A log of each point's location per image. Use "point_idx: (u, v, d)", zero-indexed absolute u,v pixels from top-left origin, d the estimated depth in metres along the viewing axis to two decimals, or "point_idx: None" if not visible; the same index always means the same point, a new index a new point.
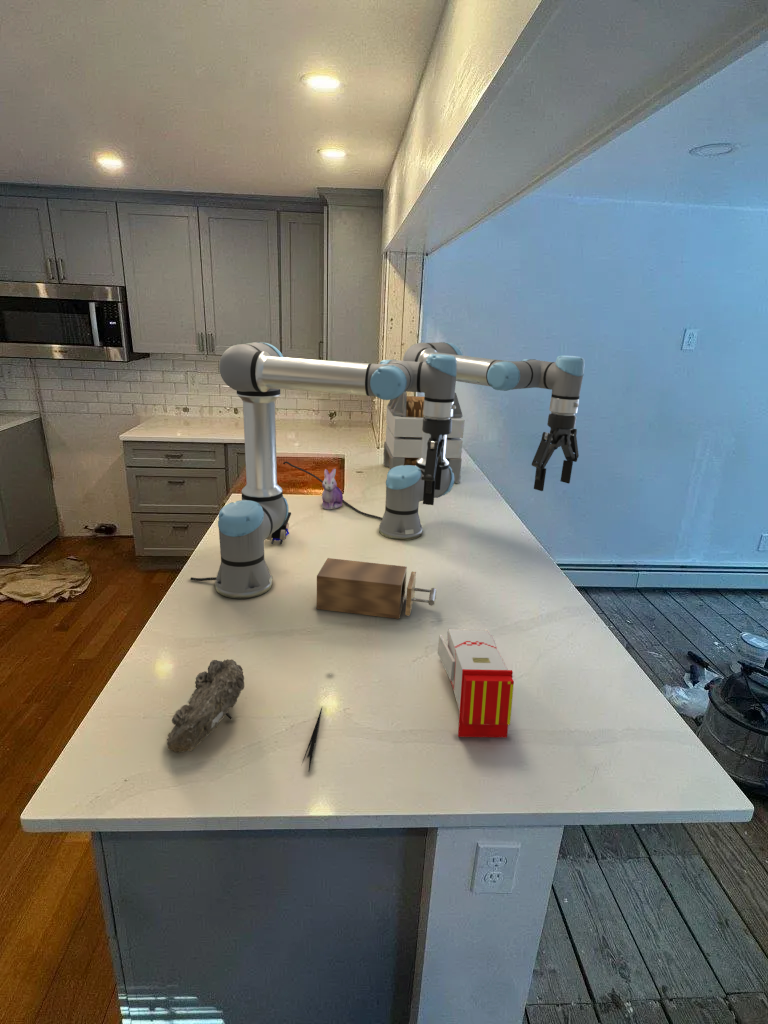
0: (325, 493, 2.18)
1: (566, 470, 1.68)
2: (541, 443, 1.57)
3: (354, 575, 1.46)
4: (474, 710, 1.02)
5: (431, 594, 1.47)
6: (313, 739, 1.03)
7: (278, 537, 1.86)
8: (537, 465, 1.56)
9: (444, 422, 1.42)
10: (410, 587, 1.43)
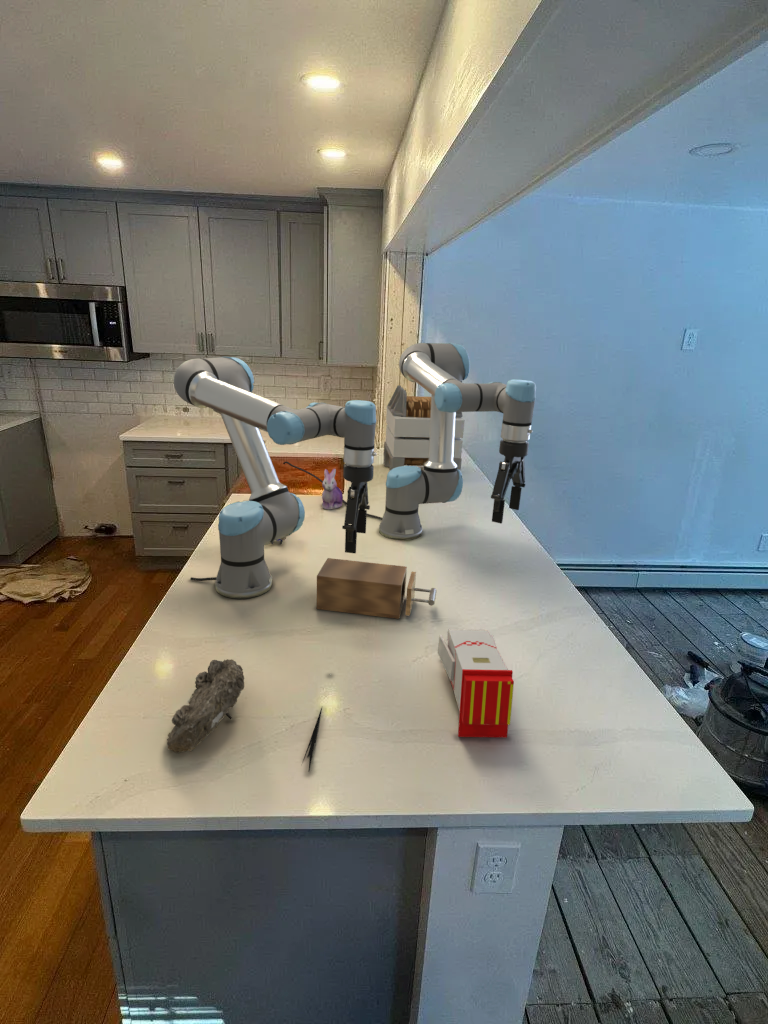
0: (325, 493, 2.18)
1: (515, 496, 1.61)
2: (499, 474, 1.47)
3: (354, 575, 1.46)
4: (474, 710, 1.02)
5: (431, 594, 1.47)
6: (313, 739, 1.03)
7: None
8: (498, 498, 1.46)
9: (365, 469, 1.39)
10: (410, 587, 1.43)
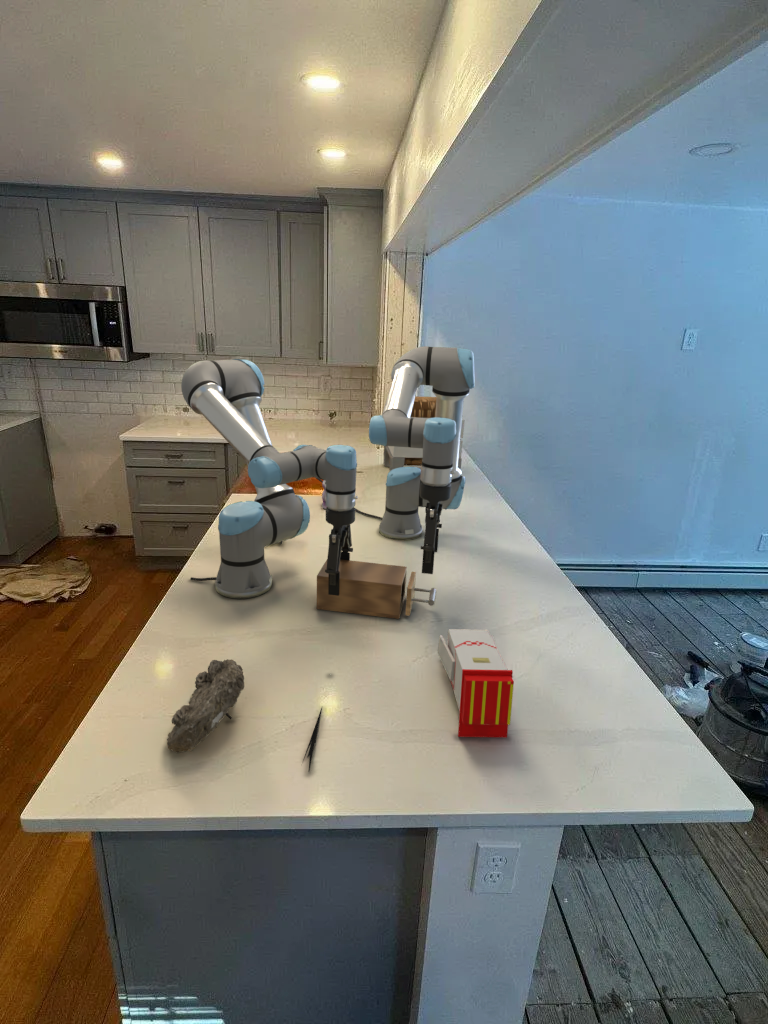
0: (325, 493, 2.18)
1: None
2: (427, 522, 1.34)
3: (354, 575, 1.46)
4: (474, 710, 1.02)
5: (431, 594, 1.47)
6: (313, 739, 1.03)
7: None
8: (431, 549, 1.33)
9: (346, 513, 1.41)
10: (410, 587, 1.43)
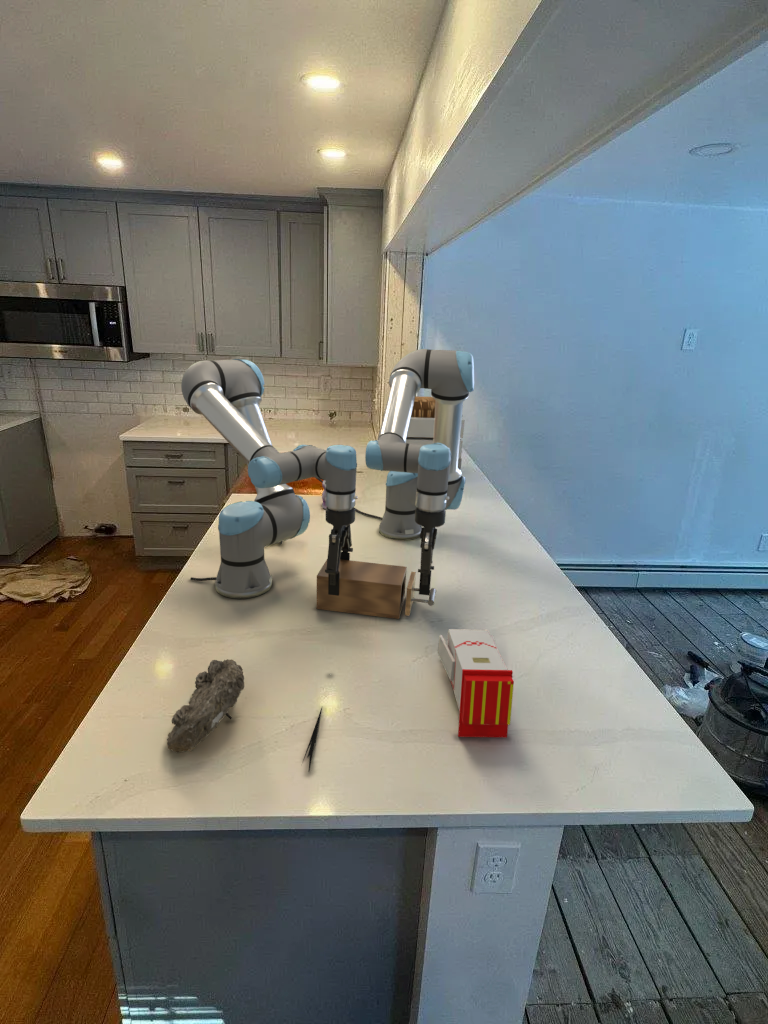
0: (325, 493, 2.18)
1: None
2: (423, 553, 1.39)
3: (354, 575, 1.46)
4: (474, 710, 1.02)
5: (431, 594, 1.47)
6: (313, 739, 1.03)
7: None
8: (427, 572, 1.42)
9: (346, 513, 1.41)
10: (410, 587, 1.43)
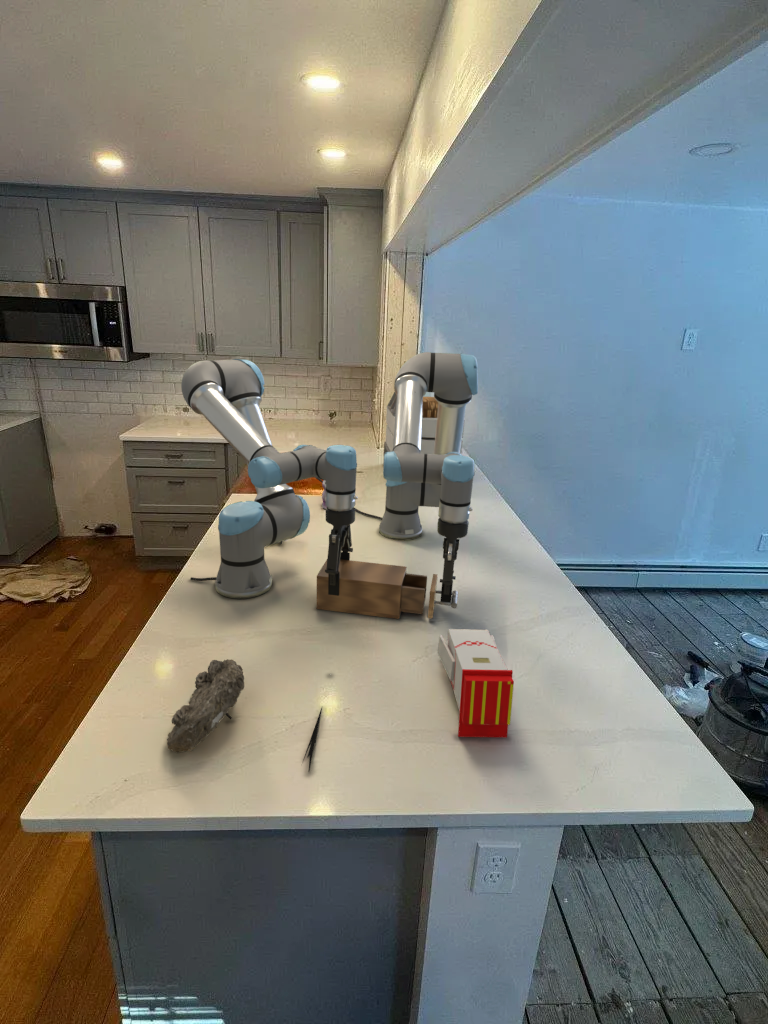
0: (325, 493, 2.18)
1: None
2: (445, 564, 1.39)
3: (354, 575, 1.46)
4: (474, 710, 1.02)
5: (453, 597, 1.46)
6: (313, 739, 1.03)
7: None
8: (450, 583, 1.42)
9: (346, 513, 1.41)
10: (433, 590, 1.42)
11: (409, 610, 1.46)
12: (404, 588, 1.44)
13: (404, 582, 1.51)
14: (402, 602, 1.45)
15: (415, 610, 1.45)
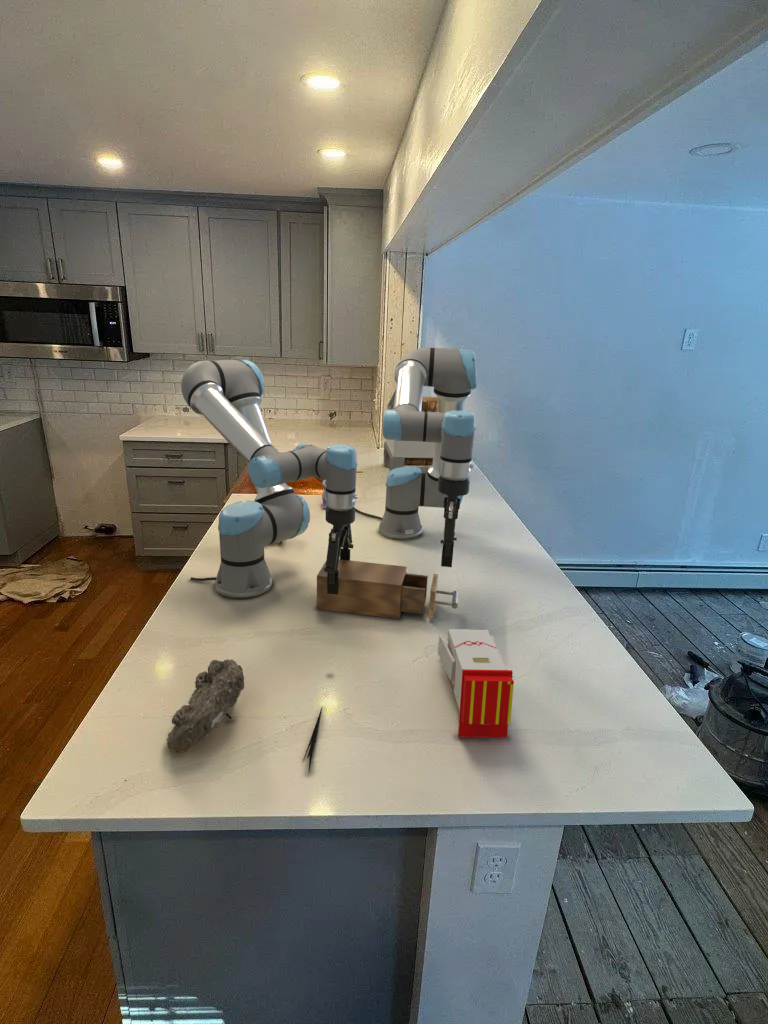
0: (325, 493, 2.18)
1: None
2: (446, 523, 1.35)
3: (354, 575, 1.46)
4: (474, 710, 1.02)
5: (454, 597, 1.46)
6: (313, 739, 1.03)
7: None
8: (451, 543, 1.38)
9: (346, 512, 1.41)
10: (433, 590, 1.42)
11: (410, 610, 1.46)
12: (405, 588, 1.44)
13: (405, 582, 1.51)
14: (403, 602, 1.45)
15: (416, 610, 1.45)
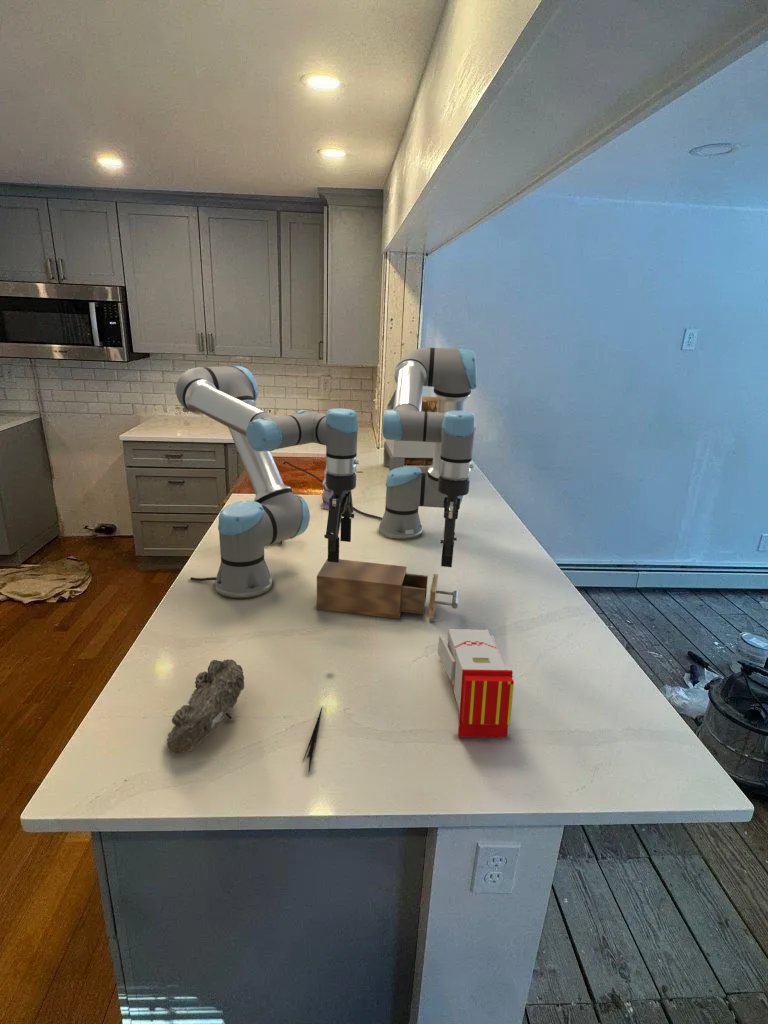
0: (325, 493, 2.18)
1: None
2: (446, 523, 1.35)
3: (354, 575, 1.46)
4: (474, 710, 1.02)
5: (454, 597, 1.46)
6: (313, 739, 1.03)
7: None
8: (451, 543, 1.38)
9: (347, 478, 1.38)
10: (433, 590, 1.42)
11: (410, 610, 1.46)
12: (405, 588, 1.44)
13: (405, 582, 1.51)
14: (403, 602, 1.45)
15: (416, 610, 1.45)
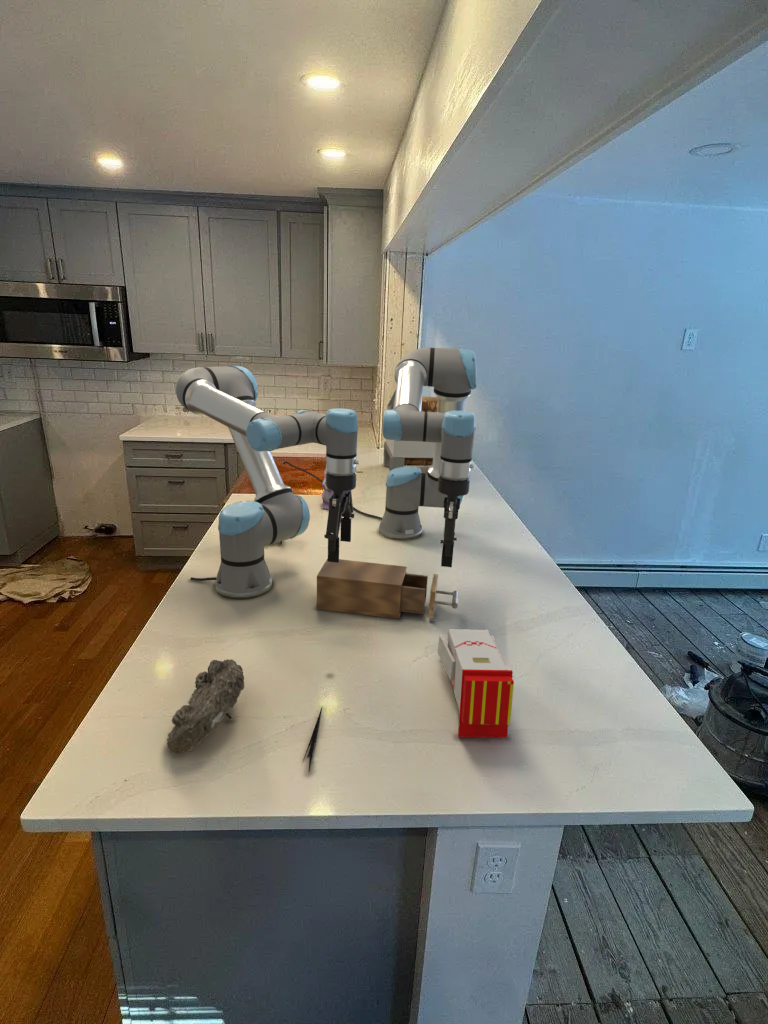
0: (325, 493, 2.18)
1: None
2: (446, 523, 1.35)
3: (354, 575, 1.46)
4: (474, 710, 1.02)
5: (454, 597, 1.46)
6: (313, 739, 1.03)
7: None
8: (451, 543, 1.38)
9: (347, 478, 1.38)
10: (433, 590, 1.42)
11: (410, 610, 1.46)
12: (405, 588, 1.44)
13: (405, 582, 1.51)
14: (403, 602, 1.45)
15: (416, 610, 1.45)
